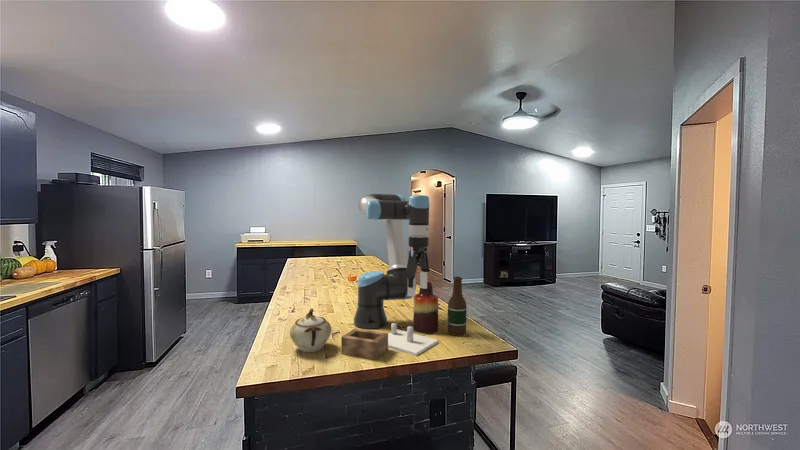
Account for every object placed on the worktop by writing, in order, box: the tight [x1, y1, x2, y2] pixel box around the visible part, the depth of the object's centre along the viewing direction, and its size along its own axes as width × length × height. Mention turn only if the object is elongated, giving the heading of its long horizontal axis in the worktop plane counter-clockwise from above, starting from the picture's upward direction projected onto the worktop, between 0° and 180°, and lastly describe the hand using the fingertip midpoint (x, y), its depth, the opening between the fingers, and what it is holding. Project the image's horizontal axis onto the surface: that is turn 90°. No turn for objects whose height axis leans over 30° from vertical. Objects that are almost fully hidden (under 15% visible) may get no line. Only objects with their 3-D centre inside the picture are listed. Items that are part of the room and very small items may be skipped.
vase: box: [412, 281, 439, 334], centre depth 150 cm, size 11×11×20 cm
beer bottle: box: [447, 275, 468, 337], centre depth 146 cm, size 8×8×24 cm
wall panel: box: [387, 322, 439, 357], centre depth 135 cm, size 20×16×6 cm
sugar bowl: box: [289, 308, 332, 353], centre depth 128 cm, size 20×15×15 cm
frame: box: [340, 328, 389, 361], centre depth 126 cm, size 14×10×6 cm
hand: (417, 292), depth 131 cm, fingers open, 13 cm apart
